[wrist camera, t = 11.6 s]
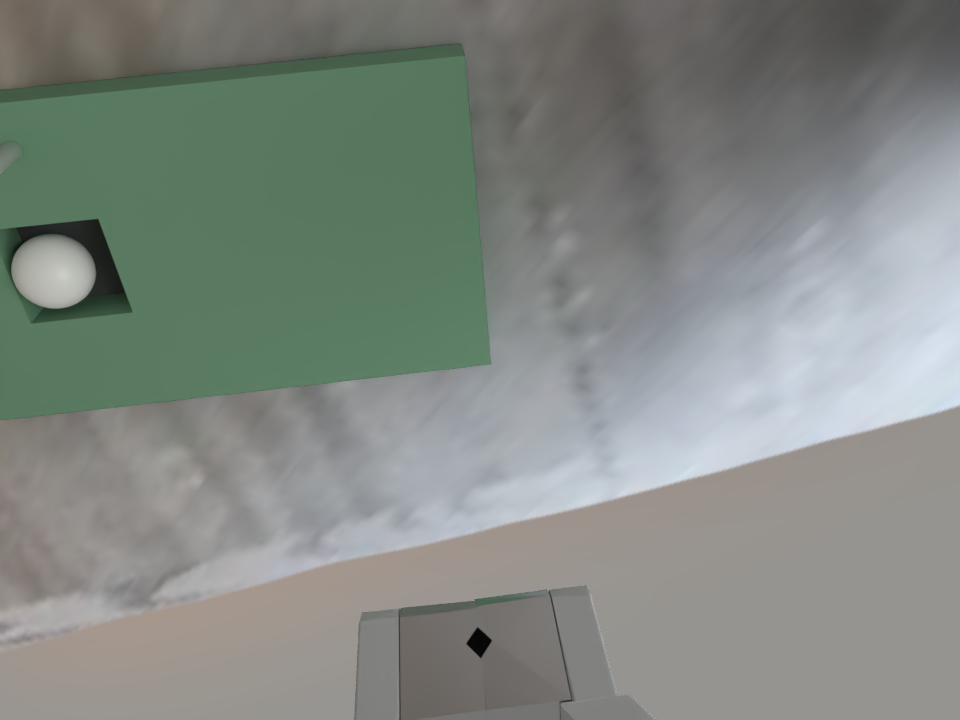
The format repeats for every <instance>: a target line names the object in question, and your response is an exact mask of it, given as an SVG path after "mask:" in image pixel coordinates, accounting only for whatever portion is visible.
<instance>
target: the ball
mask: <svg viewBox="0 0 960 720" xmlns="http://www.w3.org/2000/svg"><path fill="white" fill-rule="evenodd" d="M11 274H12V278H13V281H14V284H15V286H16V288H17V289H18V290H19V292H20V293H21V294H22V295H23V296H24V297H25V298H26V299H28V300H29V301H31V302H32V303H34V304H36V305H39V306H42V307H46V308H53V309H59V308H66V307H70V306H72V305H75V304H77V303H79V302H80V301H82V300H83V299H84V298H85V297H86V296H87V295H88V294H89V293H90V291H91V289H92V288H93V285H94V283H95V278H96V268H95V263H94V261H93V258H92V256H91V255H90V253H89V252H88V250H87V249H86V248H85V247H84V246H83V245H82V244H81V243H79V242H78V241H76V240H74V239H72V238H70V237H68V236H64V235H60V234H43V235H38V236H36V237H33V238H31V239H29V240H28V241H26V242H25V243H23V244H22V245H21V246H20V247H19V249H18V250H17V251H16V253H15V255H14V257H13V260H12V265H11Z"/></svg>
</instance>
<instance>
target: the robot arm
mask: <svg viewBox="0 0 960 720" xmlns="http://www.w3.org/2000/svg"><path fill="white" fill-rule="evenodd" d="M358 631H359V632H358V651H357V673H356V693H355V714H354V720H656V719H655V718H654V717H653V716H652V715H651V714H650V713H649V712H648V711H647V710H645V709H644V708H643V707H642V706H641V705H640V704H639V703H638V702H637V701H636V700H635V699H634V698H633V697H631V695H618V694H617V690H616V686H615V683H614V679H613V675H612V672H611V668H610V664H609V660H608V656H607V653H606V649H605V645H604V641H603V638H602V634H601V630H600V626H599V622H598V619H597V615H596V611H595V608H594V604H593V600H592V596H591V593H590V591H589V589H588V588H587V586H577V587H570V588H562V589H553V590H549V592H548V590H539V591H533V592H525V593H518V594H511V595H503V596H496V597H489V598H482V599H475V601H470V602H469V601H468V602H459V603H448V604H437V605H427V606H417V607H407V608H401V609H400V608H399V609H390V610H380V611H371V612H362V615H361V618H360V622H359V630H358Z"/></svg>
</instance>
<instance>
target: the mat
mask: <svg viewBox="0 0 960 720" xmlns="http://www.w3.org/2000/svg"><path fill="white" fill-rule="evenodd" d="M43 234H60V235H64V236H68V237H70V238H72V239H74V240H76V241H78V242H79V243H81V244H82V245H83V246H84V247H85V248H86V249H87V250H88V252H89V253H90V255H91V256H92V258H93V261H94V263H95V268H96V278H95V283H94V285H93V288H92V289H91V291H90V293H89V294H88V295H87V296H86V297H85V298H84V299H83V300H82V301H80V302H79V303H77V304H75V305H72V306H70V307H66V308H59V309H53V308H46V307H42V306H39V305H36V304H34V303H32V302H31V301H29V300H28V299H26V298H25V297H24V296H23V295H22V294H21V293H20V292H19V290H18V289H17V288H16V286H15V284H14V281H13V278H12V274H11V265H12V260H13V257H14V255H15V253H16V251H17V250H18V249H19V247H20V246H21V245H22V244H23V243H25V242H26V241H28V240H29V239H31V238H33V237H36V236H38V235H43ZM489 364H491V360H490V348H489V336H488V324H487V312H486V300H485V289H484V277H483V265H482V253H481V241H480V229H479V217H478V205H477V193H476V182H475V170H474V158H473V146H472V134H471V122H470V110H469V98H468V86H467V74H466V63H465V54H464V51H463V48H462V45H461V44H452V45H442V46H433V47H423V48H413V49H403V50H393V51H383V52H373V53H363V54H354V55H344V56H334V57H324V58H314V59H304V60H294V61H284V62H275V63H265V64H255V65H245V66H235V67H225V68H215V69H205V70H196V71H186V72H176V73H166V74H156V75H146V76H136V77H126V78H117V79H107V80H97V81H87V82H77V83H67V84H57V85H47V86H38V87H28V88H18V89H8V90H0V420H9V419H17V418H26V417H35V416H44V415H52V414H61V413H70V412H78V411H87V410H96V409H105V408H113V407H122V406H131V405H139V404H148V403H157V402H166V401H174V400H183V399H192V398H201V397H209V396H218V395H227V394H235V393H244V392H253V391H262V390H270V389H279V388H288V387H297V386H305V385H314V384H323V383H331V382H340V381H349V380H358V379H366V378H375V377H384V376H393V375H401V374H410V373H419V372H427V371H436V370H445V369H454V368H462V367H471V366H480V365H489Z"/></svg>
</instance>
